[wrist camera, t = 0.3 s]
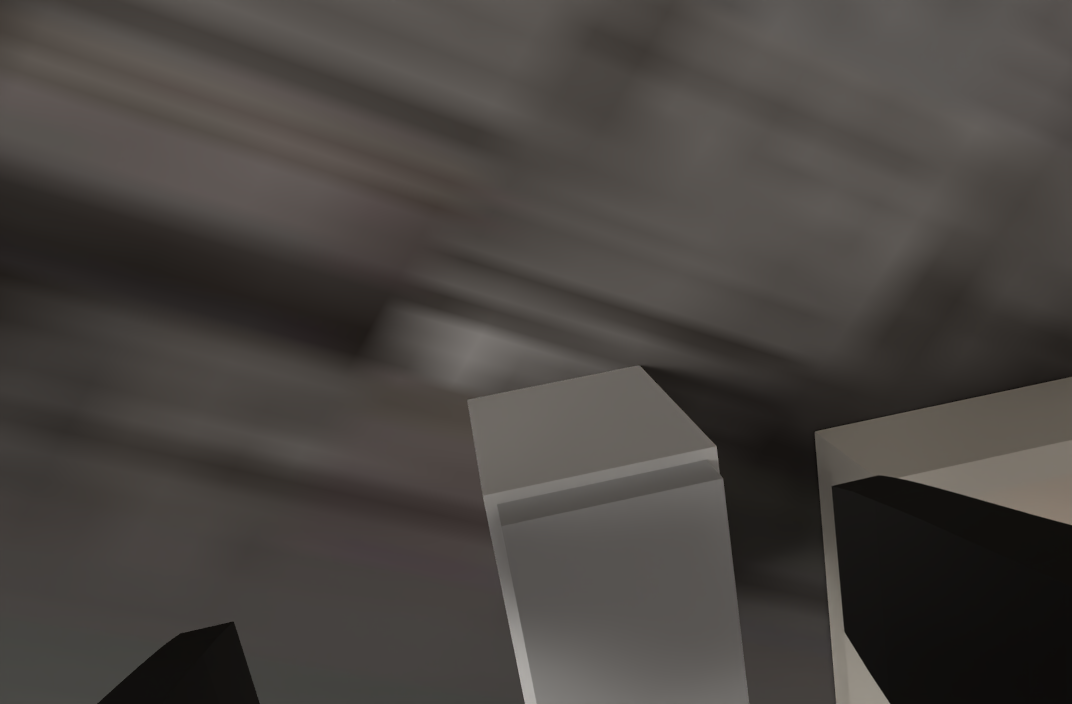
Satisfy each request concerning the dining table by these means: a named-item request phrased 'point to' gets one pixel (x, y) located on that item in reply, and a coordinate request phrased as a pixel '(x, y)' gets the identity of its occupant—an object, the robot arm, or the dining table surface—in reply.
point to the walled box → (948, 476)
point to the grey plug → (610, 543)
